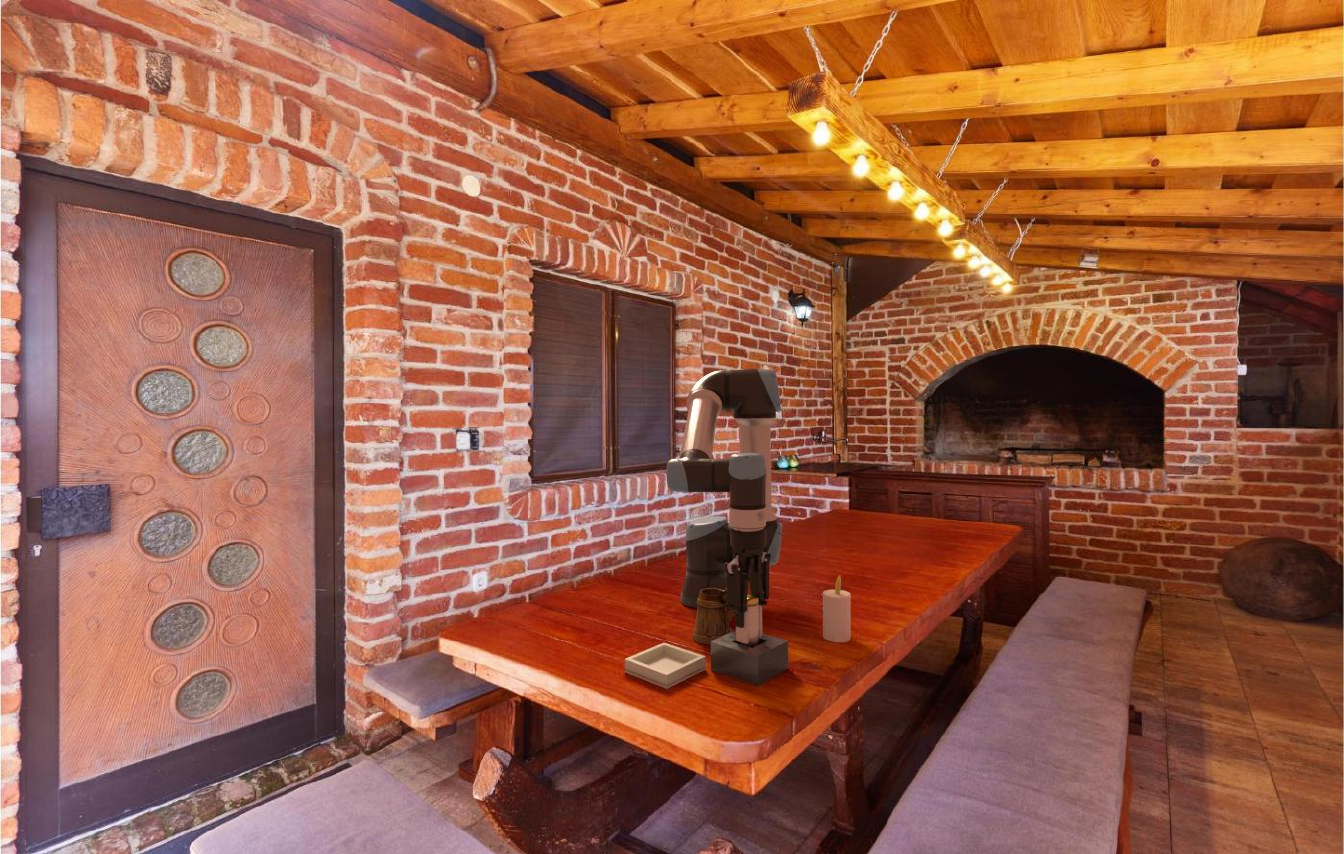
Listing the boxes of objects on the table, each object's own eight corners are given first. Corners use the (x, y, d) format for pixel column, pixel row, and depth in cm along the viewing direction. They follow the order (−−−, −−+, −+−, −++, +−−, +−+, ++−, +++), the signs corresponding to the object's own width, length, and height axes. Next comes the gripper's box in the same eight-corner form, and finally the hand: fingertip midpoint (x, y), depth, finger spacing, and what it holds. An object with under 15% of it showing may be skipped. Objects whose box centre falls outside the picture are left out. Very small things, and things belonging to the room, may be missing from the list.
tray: (625, 672, 135) (624, 659, 135) (664, 654, 144) (663, 642, 144) (666, 688, 127) (666, 674, 127) (705, 669, 136) (705, 656, 136)
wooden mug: (733, 652, 145) (732, 573, 144) (685, 639, 153) (684, 564, 152) (754, 640, 152) (753, 564, 151) (707, 628, 160) (706, 556, 159)
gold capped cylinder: (736, 669, 135) (735, 598, 135) (747, 663, 138) (746, 593, 138) (751, 675, 133) (751, 602, 132) (763, 668, 136) (762, 597, 135)
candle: (826, 630, 157) (825, 569, 156) (853, 634, 154) (853, 572, 153) (819, 639, 151) (818, 576, 151) (847, 643, 148) (847, 579, 148)
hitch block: (710, 669, 136) (710, 641, 135) (742, 654, 144) (741, 627, 143) (758, 686, 127) (757, 656, 127) (788, 668, 135) (788, 640, 135)
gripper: (737, 536, 125) (739, 655, 126) (785, 523, 138) (786, 631, 139) (707, 532, 130) (709, 645, 131) (757, 519, 143) (758, 623, 144)
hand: (749, 637), depth 135 cm, fingers open, 4 cm apart
